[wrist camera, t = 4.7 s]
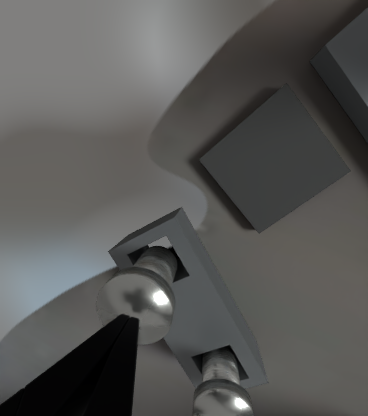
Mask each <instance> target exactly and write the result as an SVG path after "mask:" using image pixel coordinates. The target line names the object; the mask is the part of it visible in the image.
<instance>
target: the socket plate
mask: <svg viewBox="0 0 368 416" xmlns="http://www.w3.org/2000/svg"><path fill="white" fill-rule="evenodd" d="M310 63H311V64H312V65H313V67H314V68H315V70H316V71H317V72H318V74H319V75H320V77H321V78H322V80H323V81H324V82H325V84H326V85H327V87H328V88H329V89H330V91H331V92H332V94H333V95H334V96H335V98H336V99H337V101H338V102H339V103H340V105H341V106H342V108H343V109H344V111H345V112H346V113H347V115H348V116H349V118H350V119H351V120H352V122H353V123H354V125H355V126H356V127H357V129H358V130H359V132H360V133H361V134H362V136H363V137H364V139H365V140H366V142H367V143H368V8H366V9H365V10H364V11H363V12H362V13H361V14H360V15H359V16H357V17H356V18H355V19H354V20H353V21H352V22H351V23H349V24H348V25H347V26H346V27H345V28H344V29H343V30H341V31H340V32H339V33H338V34H337V35H336V36H335V37H334V38H332V39H331V40H330V41H329V42H328V43H327V44H326V45H325V46H324V47H323V48H322V49H321V50H320V51H319V52H318V53H317V54H316V55H315V56H314V57H313V58H312V59H311V60H310Z"/></svg>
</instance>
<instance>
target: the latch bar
mask: <svg viewBox="0 0 368 416" xmlns="http://www.w3.org/2000/svg"><path fill="white" fill-rule="evenodd" d="M164 236H167V237H168V239H169V241H170V242H171V244H172V246H173V248H174V249H175V251H176V253H177V255H178V256H179V258H180V260H179V261H177V270H176V273H175V276H174V280H173V283H172V286H171V288H172V290H173V292H174V295H175V301H176V306H175V312H174V316H173V320H172V324H171V327H170V329H169V331H168V333H167V334H166V335H165V336H164V337H163V338H164V340H165V341H166V343H167V344H168V346H169V347H170V349H171V351H172V352H173V354H174V355H175V357H176V358H177V360H178V362H179V363H180V365H181V366H182V368H183V369H184V371H185V372H186V374H187V376H188V377H189V379H190V380H191V382H192V383H193V385H194V387H195V388H197V387H198V385H200V384H201V383H202V359H203V353H205V352H208V351H212V350H215V349H218V348H221V347H224V346H228V345H230V346H231V347H232V349H233V351H234V352H235V354H236V359H237V366H238V372H239V379H240V385H241V386H242V387H243V388H244V389H246V388H250V387H254V386H258V385H262V384H266V383H269V382H268V379H267V376H266V372H265V369H264V365H263V362H262V358H261V355H260V351H259V348H258V344H257V341H256V339H255V338H254V336H253V334H252V332H251V330H250V329H249V327H248V325H247V323H246V321H245V320H244V318H243V316H242V314H241V312H240V311H239V309H238V307H237V305H236V303H235V302H234V300H233V298H232V296H231V294H230V293H229V291H228V289H227V287H226V285H225V284H224V282H223V280H222V278H221V276H220V275H219V273H218V271H217V269H216V268H215V266H214V264H213V262H212V260H211V259H210V257H209V255H208V253H207V251H206V250H205V248H204V246H203V244H202V242H201V241H200V239H199V237H198V235H197V233H196V232H195V230H194V228H193V226H192V224H191V223H190V221H189V219H188V217H187V215H186V214H185V212H184V210H183V208H182V207H181V208H179V209H177V210H175V211H173V212H171V213H170V214H167V215H165V216H164V217H162V218H160V219H158V220H156V221H154V222H152V223H150V224H148V225H146V226H145V227H143V228H141V229H139V230H137V231H135V232H133V233H131V234H129V235H128V236H127V237H125V238H124V239H123V240H122V241H120V242H119V243H118V244H117V245H115V246H114V247H113V248H112V249H111V250H109V251H108V252H109V253H110V255H111V257H112V258H113V260H114V261H115V263H116V264H117V266H118V268H119V269H120V270H122V269H124V268H128V267H133V265H134V264H135V263H136V261H137V260H138V259H139V258H140V256H141V255H142V254H143V252H144V251H145V250H146V249H148V248H149V246H148V244H150V243H152V242H153V241H156V240H157V239H160V238H162V237H164Z"/></svg>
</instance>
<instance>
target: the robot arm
mask: <svg viewBox="0 0 368 416" xmlns="http://www.w3.org/2000/svg"><path fill="white" fill-rule="evenodd" d="M139 323H140V319H139V318H136V317H130V316H129V315H125V314H120V315H119V316H117V317H116V318H115V319H113V320H112V321H111V322H109V323H108V324H107V325H105V326H104V327H103V328H101V329H100V330H99V331H97V332H96V333H95V334H93V335H92V336H91V337H90V338H88V339H87V340H86V341H84V342H83V343H82V344H80V345H79V346H78V347H76V348H75V349H74V350H72V351H71V352H70V353H68V354H67V355H66V356H65V357H63V358H62V359H61V360H59V361H58V362H57V363H55V364H54V365H53V366H51V367H50V368H49V369H47V370H46V371H45V372H43V373H42V374H41V375H39V376H38V377H37V378H36V379H34V380H33V381H32V382H30V383H29V384H28V385H26V386H25V389H24V388H22V389H21V390H19V391H18V392H17V393H16V394H14V395H13V396H12V397H10V398H9V399H8V400H6V401H5V402H4V403H2V404H1V405H0V416H132V406H133V394H134V382H135V370H136V358H137V347H138V335H139Z"/></svg>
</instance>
